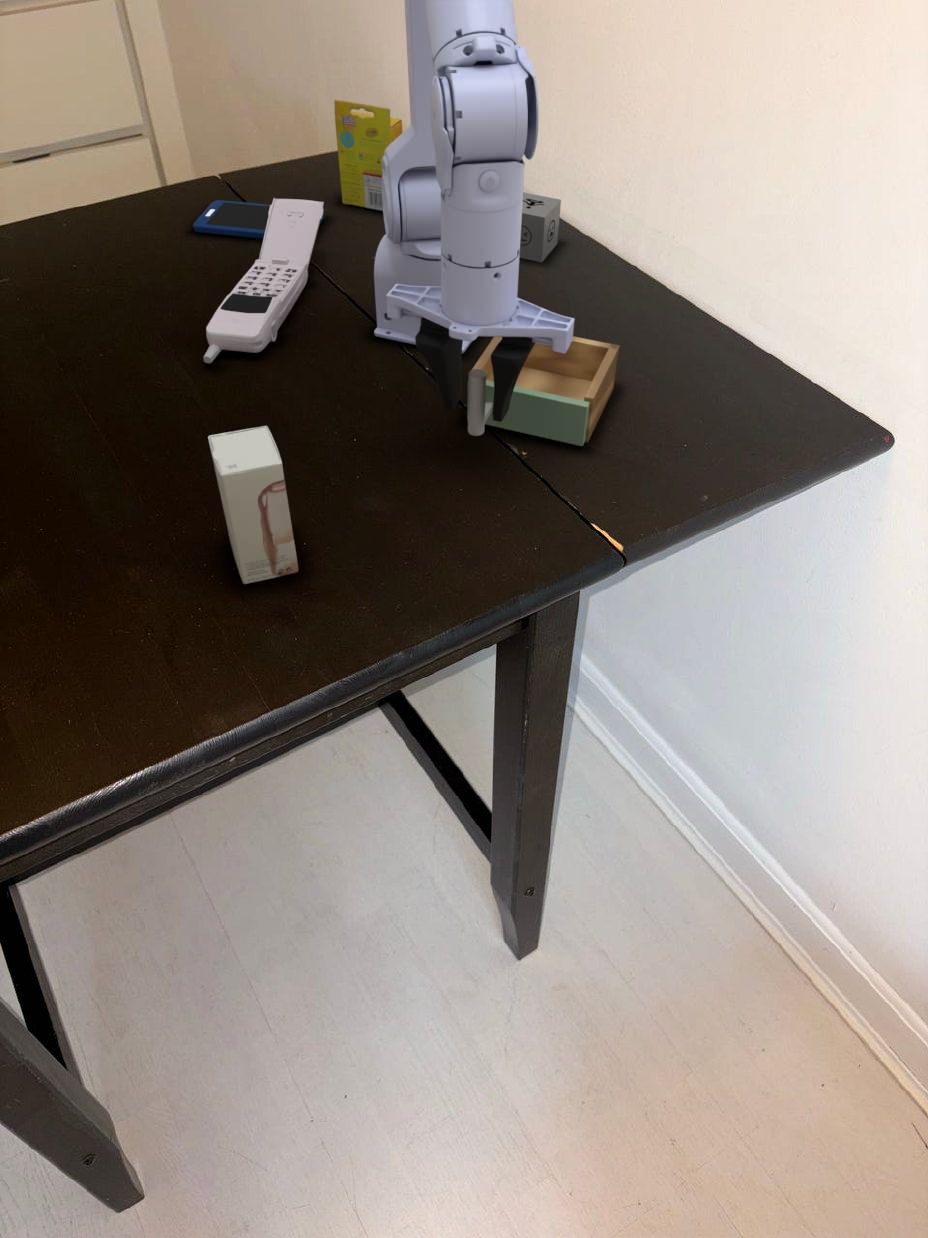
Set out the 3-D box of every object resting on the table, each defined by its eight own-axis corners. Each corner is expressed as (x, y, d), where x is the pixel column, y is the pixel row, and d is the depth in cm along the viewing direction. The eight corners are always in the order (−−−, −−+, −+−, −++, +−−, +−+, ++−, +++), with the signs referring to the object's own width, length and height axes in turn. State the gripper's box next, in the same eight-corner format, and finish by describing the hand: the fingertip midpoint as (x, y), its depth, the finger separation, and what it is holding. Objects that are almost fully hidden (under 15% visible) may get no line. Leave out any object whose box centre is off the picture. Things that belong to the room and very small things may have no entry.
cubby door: (449, 446, 81) (449, 372, 76) (470, 415, 85) (471, 341, 79) (568, 474, 79) (577, 399, 74) (585, 441, 82) (594, 367, 77)
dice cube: (557, 243, 108) (561, 199, 105) (541, 262, 105) (544, 217, 102) (516, 235, 110) (518, 191, 106) (500, 253, 107) (501, 208, 103)
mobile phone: (326, 199, 102) (247, 313, 85) (332, 253, 106) (258, 372, 89) (273, 195, 103) (184, 307, 86) (281, 248, 107) (197, 365, 90)
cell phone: (214, 205, 114) (213, 198, 114) (326, 215, 112) (326, 209, 112) (191, 231, 109) (190, 225, 109) (308, 243, 108) (307, 236, 107)
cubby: (469, 415, 85) (469, 371, 82) (501, 364, 91) (503, 321, 88) (587, 442, 83) (593, 398, 79) (613, 388, 88) (619, 345, 85)
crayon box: (406, 205, 115) (403, 101, 106) (395, 215, 113) (391, 109, 105) (352, 194, 117) (345, 91, 109) (341, 203, 115) (332, 99, 107)
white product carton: (301, 573, 71) (284, 465, 64) (242, 587, 70) (218, 478, 63) (286, 529, 74) (268, 422, 67) (230, 542, 73) (205, 434, 66)
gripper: (365, 256, 68) (376, 416, 78) (560, 293, 64) (546, 455, 74) (404, 216, 72) (409, 372, 82) (588, 248, 69) (571, 407, 79)
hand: (476, 409), depth 79 cm, fingers open, 4 cm apart
